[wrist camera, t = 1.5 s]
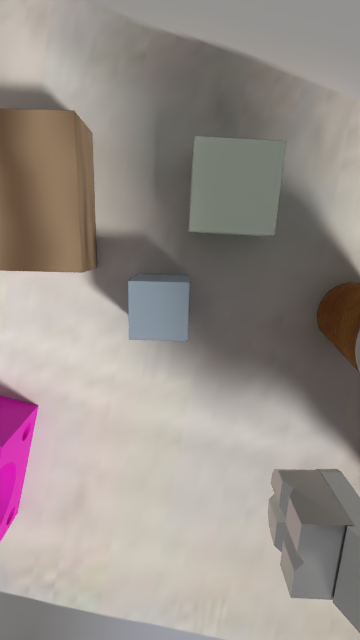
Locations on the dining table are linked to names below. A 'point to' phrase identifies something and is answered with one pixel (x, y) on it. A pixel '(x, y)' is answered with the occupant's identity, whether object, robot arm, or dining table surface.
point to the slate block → (158, 307)
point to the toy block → (13, 455)
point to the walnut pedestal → (46, 192)
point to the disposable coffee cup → (342, 320)
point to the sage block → (235, 186)
